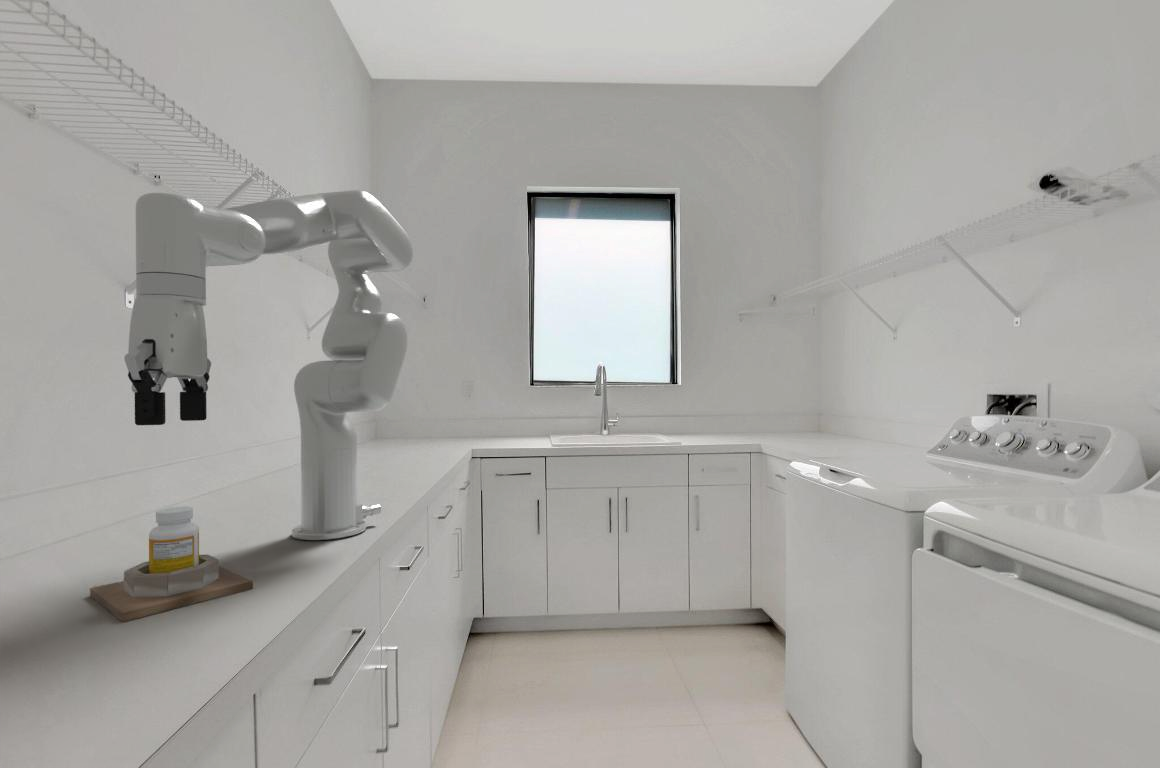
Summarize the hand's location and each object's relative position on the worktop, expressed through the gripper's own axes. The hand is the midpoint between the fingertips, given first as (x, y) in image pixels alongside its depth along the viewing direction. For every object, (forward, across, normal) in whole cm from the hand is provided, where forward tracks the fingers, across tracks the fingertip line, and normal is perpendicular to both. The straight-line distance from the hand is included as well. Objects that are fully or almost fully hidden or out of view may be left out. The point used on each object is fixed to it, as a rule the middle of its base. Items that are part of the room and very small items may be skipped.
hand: (173, 422), depth 77 cm
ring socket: (+22, 0, 0) cm, 22 cm away
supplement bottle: (+21, 0, 0) cm, 21 cm away
